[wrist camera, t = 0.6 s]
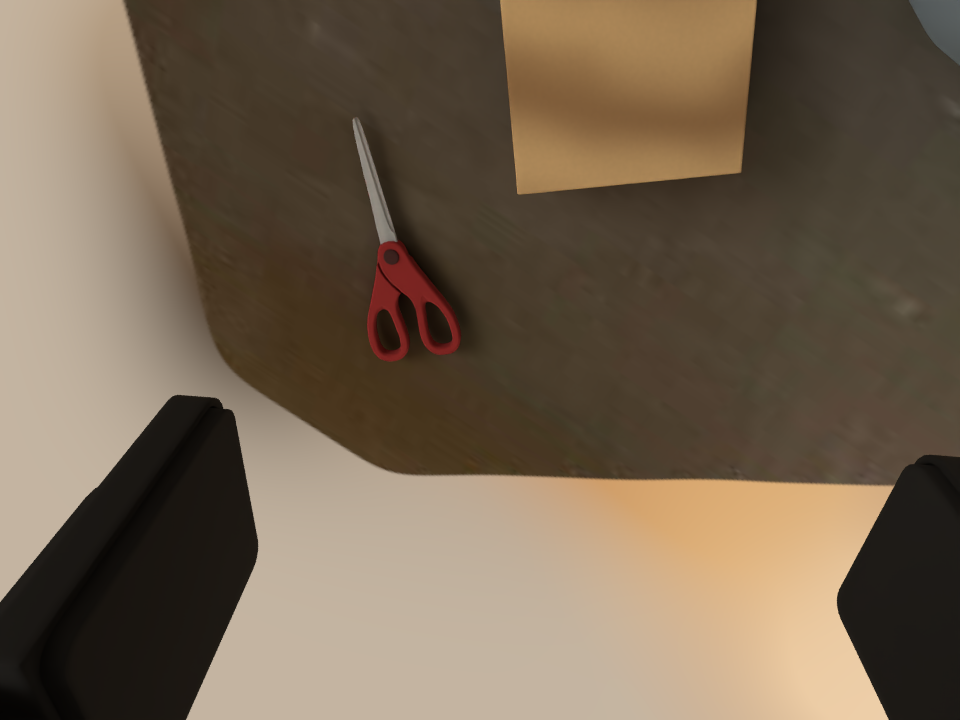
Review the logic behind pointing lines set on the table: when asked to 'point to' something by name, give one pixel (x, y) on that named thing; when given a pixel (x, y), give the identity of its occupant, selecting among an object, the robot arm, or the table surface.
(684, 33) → the desk stand
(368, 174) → the scissors
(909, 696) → the robot arm
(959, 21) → the brown blue rounded box
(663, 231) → the table surface
